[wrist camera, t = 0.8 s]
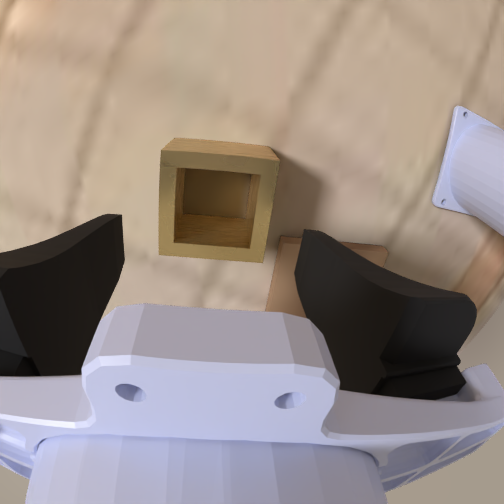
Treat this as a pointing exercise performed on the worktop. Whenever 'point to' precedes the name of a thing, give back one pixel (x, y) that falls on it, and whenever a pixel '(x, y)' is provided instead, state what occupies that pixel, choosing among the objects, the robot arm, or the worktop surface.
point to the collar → (215, 227)
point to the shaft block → (283, 278)
